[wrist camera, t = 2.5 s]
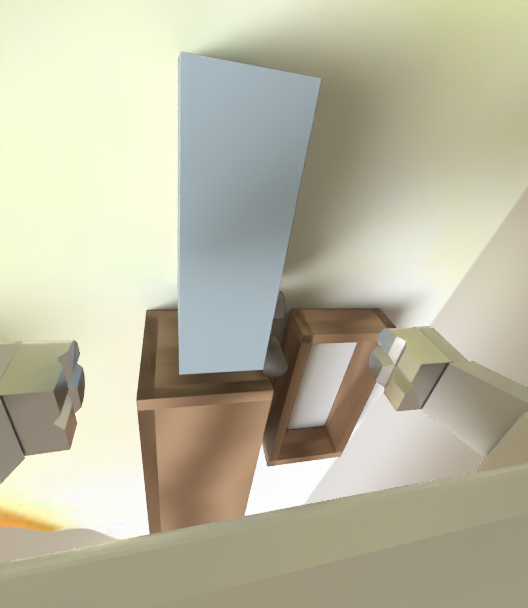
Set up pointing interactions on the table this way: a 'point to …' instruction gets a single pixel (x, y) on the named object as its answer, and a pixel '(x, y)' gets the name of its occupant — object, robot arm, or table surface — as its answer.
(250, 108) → the door
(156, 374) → the cabinet
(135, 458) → the table surface
